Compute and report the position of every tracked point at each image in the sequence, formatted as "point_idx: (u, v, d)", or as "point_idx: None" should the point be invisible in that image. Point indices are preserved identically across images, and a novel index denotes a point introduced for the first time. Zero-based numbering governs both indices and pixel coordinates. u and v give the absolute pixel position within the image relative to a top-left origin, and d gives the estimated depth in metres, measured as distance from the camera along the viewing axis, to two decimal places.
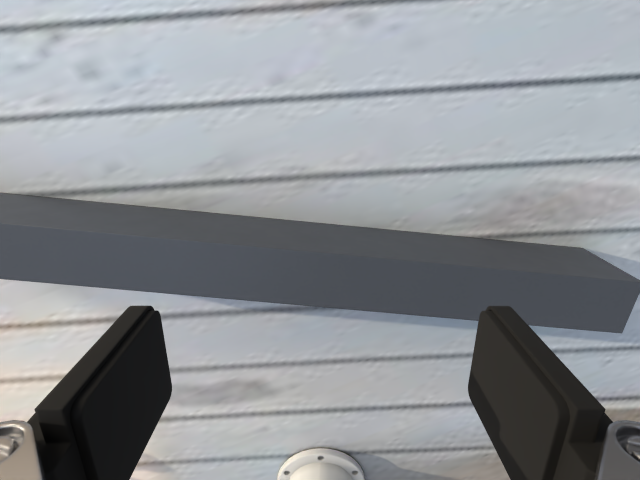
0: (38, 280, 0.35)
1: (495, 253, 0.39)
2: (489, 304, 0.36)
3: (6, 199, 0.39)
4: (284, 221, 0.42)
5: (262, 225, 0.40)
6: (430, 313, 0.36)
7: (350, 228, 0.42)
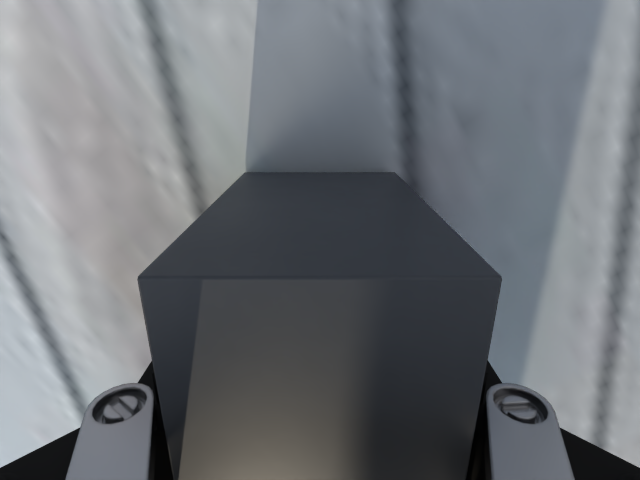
0: None
1: None
2: None
3: None
4: None
5: None
6: None
7: None
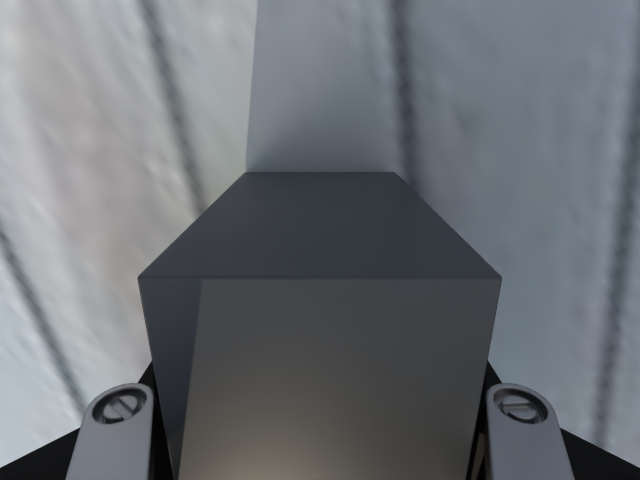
0: None
1: None
2: None
3: None
4: None
5: None
6: None
7: None
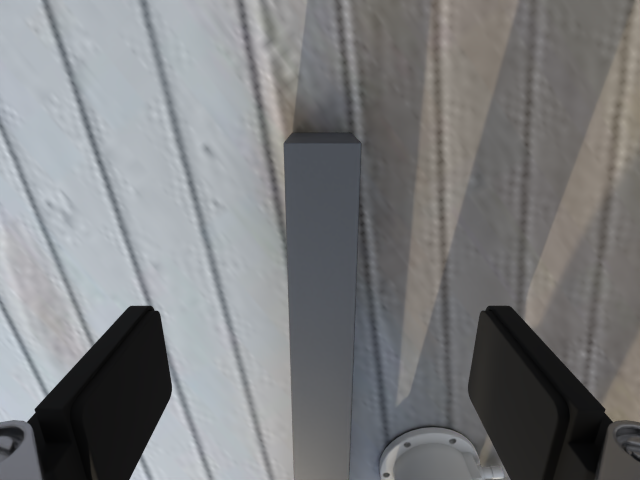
0: None
1: None
2: (332, 310, 0.32)
3: None
4: None
5: None
6: (348, 364, 0.34)
7: None
